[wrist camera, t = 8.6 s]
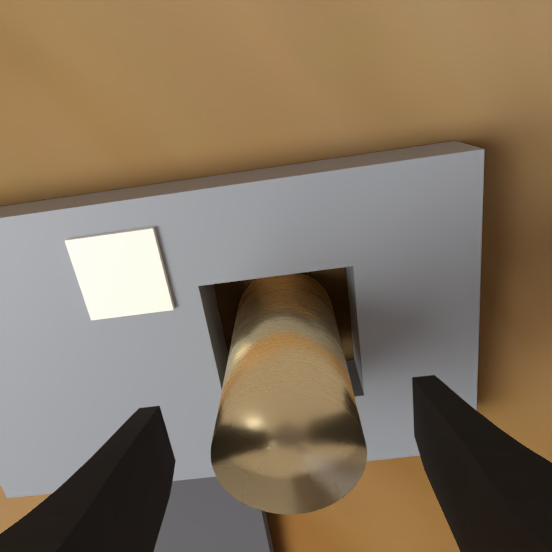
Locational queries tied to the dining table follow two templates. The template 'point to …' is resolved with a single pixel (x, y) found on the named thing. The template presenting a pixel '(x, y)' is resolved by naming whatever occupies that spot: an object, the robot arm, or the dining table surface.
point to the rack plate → (204, 308)
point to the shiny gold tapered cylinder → (287, 402)
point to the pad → (211, 521)
